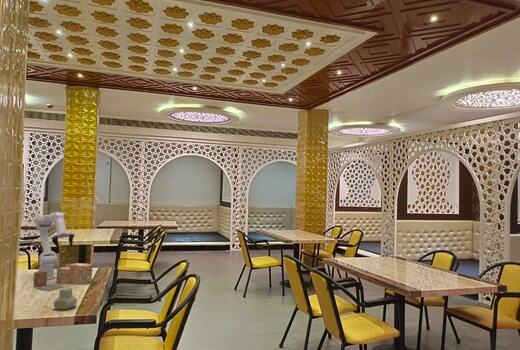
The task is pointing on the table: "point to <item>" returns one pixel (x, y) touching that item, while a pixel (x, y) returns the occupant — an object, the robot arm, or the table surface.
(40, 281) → the walnut block
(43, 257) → the robot arm
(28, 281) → the table surface
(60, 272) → the stack of blocks
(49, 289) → the slate mat
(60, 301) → the air freshener
